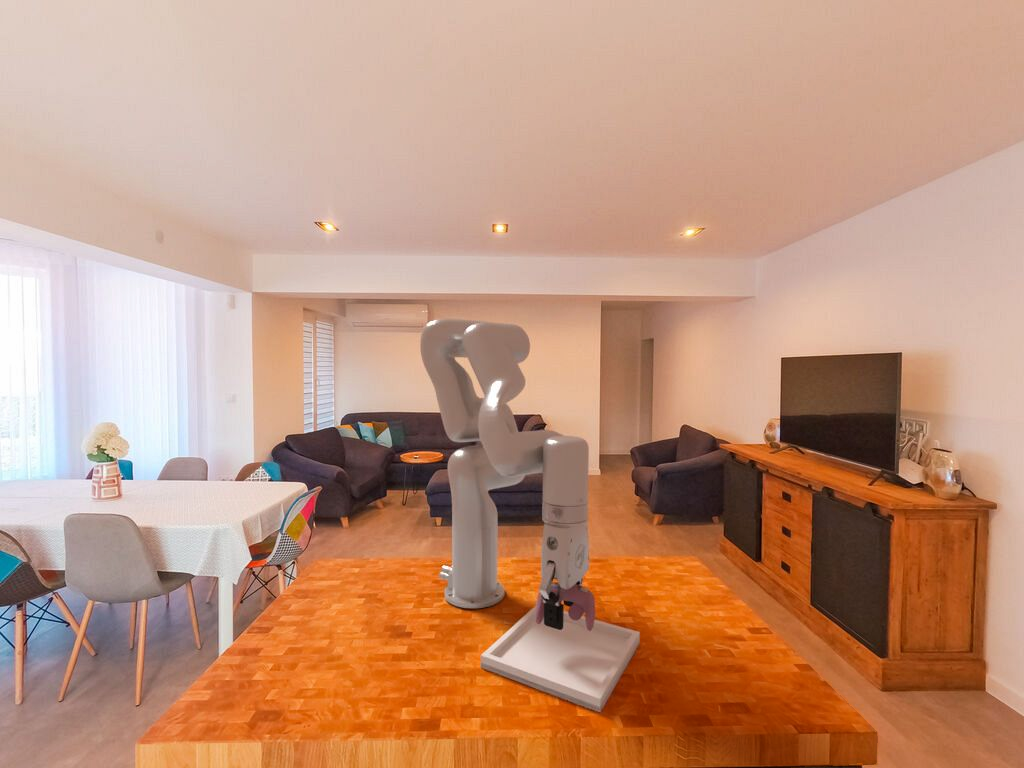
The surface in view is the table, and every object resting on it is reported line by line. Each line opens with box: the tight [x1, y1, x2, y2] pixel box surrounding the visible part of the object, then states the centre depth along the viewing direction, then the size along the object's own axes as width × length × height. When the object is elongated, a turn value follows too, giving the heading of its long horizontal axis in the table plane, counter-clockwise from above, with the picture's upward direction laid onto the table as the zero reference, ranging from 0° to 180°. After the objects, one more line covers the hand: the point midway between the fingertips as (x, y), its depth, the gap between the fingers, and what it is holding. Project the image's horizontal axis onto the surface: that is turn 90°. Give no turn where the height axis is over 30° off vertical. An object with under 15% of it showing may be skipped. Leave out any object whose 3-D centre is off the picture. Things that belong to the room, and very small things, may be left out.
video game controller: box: [535, 581, 596, 631], centre depth 81 cm, size 10×5×7 cm, turn 77°
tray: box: [480, 605, 641, 713], centre depth 81 cm, size 20×20×2 cm
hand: (563, 615), depth 81 cm, fingers closed on video game controller, 7 cm apart
